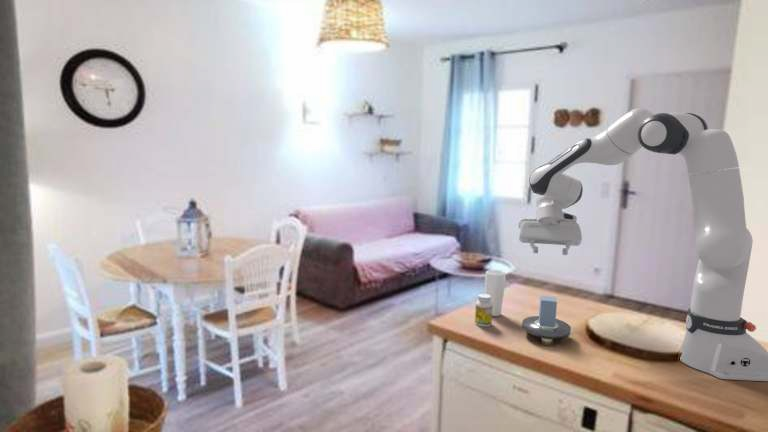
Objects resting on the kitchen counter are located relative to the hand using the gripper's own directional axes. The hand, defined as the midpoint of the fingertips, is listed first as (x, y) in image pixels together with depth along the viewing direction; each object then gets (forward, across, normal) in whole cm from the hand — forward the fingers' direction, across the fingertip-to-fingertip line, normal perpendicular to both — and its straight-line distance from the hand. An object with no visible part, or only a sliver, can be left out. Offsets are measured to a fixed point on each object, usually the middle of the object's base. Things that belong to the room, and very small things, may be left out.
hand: (550, 253), depth 155 cm
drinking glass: (+18, -18, +14) cm, 29 cm away
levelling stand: (+28, -2, +3) cm, 29 cm away
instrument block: (+26, -2, 0) cm, 26 cm away
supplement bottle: (+25, -21, +7) cm, 33 cm away
